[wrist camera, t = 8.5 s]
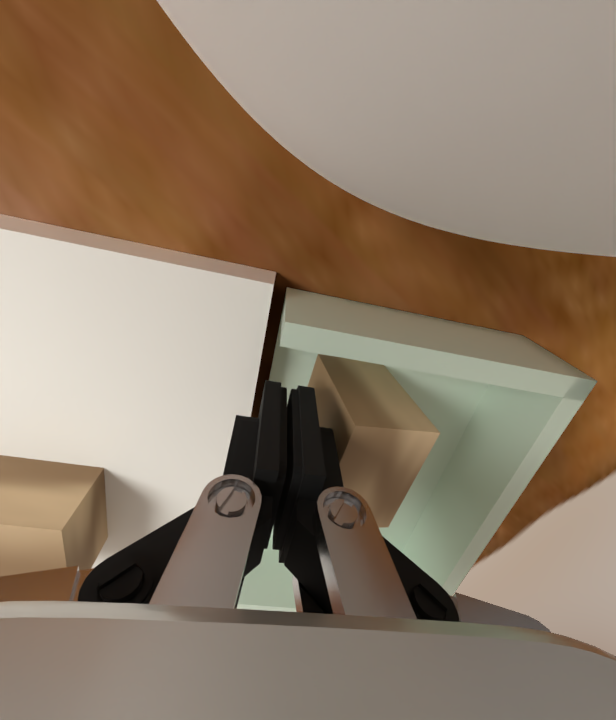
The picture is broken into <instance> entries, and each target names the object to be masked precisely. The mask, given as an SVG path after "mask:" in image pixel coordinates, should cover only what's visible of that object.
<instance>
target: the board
mask: <svg viewBox="0 0 616 720" xmlns="http://www.w3.org/2000/svg"><path fill="white" fill-rule="evenodd" d="M275 277H276V272H274V271H269V270H265V269H260V268H255V267H250V266H246V265H241V264H236V263H231V262H227V261H222V260H217V259H212V258H207V257H203V256H198V255H193V254H188V253H184V252H179V251H174V250H169V249H165V248H160V247H155V246H150V245H145V244H141V243H136V242H131V241H126V240H122V239H117V238H112V237H107V236H103V235H98V234H93V233H88V232H84V231H79V230H74V229H69V228H64V227H60V226H55V225H50V224H45V223H41V222H36V221H31V220H26V219H22V218H17V217H12V216H7V215H3V214H0V455H4V456H13V457H21V458H29V459H37V460H45V461H53V462H61V463H69V464H77V465H85V466H93V467H101V468H104V475H105V493H106V510H107V528H108V538H107V540H106V542H105V544H104V545H103V547H102V549H101V551H100V553H99V555H98V557H97V559H96V560H95V562H94V564H93V566H92V568H95V567H96V566H97V565H99V564H100V563H101V562H103V561H104V560H105V559H107V558H108V557H110V556H112V555H114V554H115V553H117V552H119V551H120V550H122V549H124V548H126V547H127V546H129V545H131V544H132V543H134V542H136V541H137V540H139V539H141V538H143V537H144V536H146V535H148V534H149V533H151V532H153V531H155V530H156V529H158V528H160V527H161V526H163V525H165V524H166V523H168V522H170V521H172V520H173V519H175V518H177V517H178V516H180V515H182V514H184V513H185V512H187V511H189V510H190V509H192V508H194V507H195V506H196V504H197V502H198V499H199V497H200V495H201V493H202V491H203V489H204V488H205V487H206V485H207V484H208V483H209V482H211V481H212V480H213V479H215V478H217V477H220V476H222V475H223V472H224V468H225V463H226V459H227V454H228V450H229V445H230V440H231V436H232V431H233V427H234V422H235V418H236V415H240V416H247V417H251V413H252V408H253V402H254V396H255V391H256V385H257V379H258V373H259V368H260V362H261V356H262V351H263V345H264V339H265V334H266V328H267V322H268V317H269V311H270V305H271V299H272V294H273V288H274V282H275ZM92 568H91V569H92Z"/></svg>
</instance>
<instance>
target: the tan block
mask: <svg viewBox="0 0 616 720" xmlns="http://www.w3.org/2000/svg"><path fill="white" fill-rule="evenodd" d="M107 538H108V528H107V510H106V493H105V475H104V468H101V467H93V466H85V465H77V464H69V463H61V462H53V461H45V460H37V459H29V458H21V457H13V456H4V455H0V577H1V576H8V575H15V574H22V573H29V572H36V571H43V570H50V569H57V568H65V567H72V566H79V570H85V569H91V568H92V566H93V564H94V562H95V560H96V559H97V557H98V555H99V553H100V551H101V549H102V547H103V545H104V544H105V542H106V540H107Z"/></svg>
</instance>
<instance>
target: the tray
mask: <svg viewBox="0 0 616 720" xmlns="http://www.w3.org/2000/svg"><path fill="white" fill-rule="evenodd" d="M318 354H322V355H329V356H335V357H342V358H347V359H353V360H358V361H364V362H369V363H375V364H380V365H384V366H385V367H386V368H387V369H388V371H389V372H390V373H391V374H392V375H393V377H394V378H395V379H396V380H397V381H398V383H399V384H400V385H401V386H402V387H403V389H404V390H405V391H406V392H407V393H408V395H409V396H410V397H411V398H412V399H413V401H414V402H415V403H416V404H417V405H418V407H419V408H420V409H421V410H422V412H423V413H424V414H425V415H426V416H427V418H428V419H429V420H430V421H431V422H432V424H433V425H434V426H435V427H436V428H437V430H438V431H439V432H440V435H439V436H438V438H437V440H436V442H435V444H434V445H433V447H432V449H431V451H430V453H429V455H428V456H427V458H426V460H425V462H424V464H423V465H422V467H421V469H420V471H419V473H418V474H417V476H416V478H415V480H414V482H413V483H412V485H411V487H410V489H409V491H408V493H407V494H406V496H405V498H404V500H403V502H402V503H401V505H400V507H399V509H398V511H397V512H396V514H395V516H394V518H393V520H392V521H391V523H390V525H389V527H382V528H379V530H380V532H381V535H382V536H383V537H384V538H385V539H387V540H388V541H389V542H390V543H391V544H392V545H394V546H395V547H396V548H397V549H398V550H400V551H401V552H402V553H403V554H404V555H405V556H407V557H408V558H409V559H410V560H411V561H413V562H414V563H415V564H416V565H417V566H418V567H420V568H421V569H422V570H423V571H424V572H426V573H427V574H428V575H429V576H430V577H431V578H433V579H434V580H435V581H436V582H437V583H439V584H440V585H441V587H442V588H443V589H444V590H445V591H446V592H447V593H448V594H449V595H450V596H453V594H454V593H455V591H456V590H457V588H458V587H459V585H460V584H461V582H462V581H463V579H464V578H465V576H466V575H467V574H468V572H469V571H470V569H471V568H472V566H473V565H474V563H475V562H476V560H477V559H478V557H479V556H480V554H481V553H482V551H483V550H484V548H485V547H486V545H487V544H488V543H489V541H490V540H491V538H492V537H493V535H494V534H495V532H496V531H497V529H498V528H499V526H500V525H501V523H502V522H503V520H504V519H505V517H506V516H507V514H508V513H509V511H510V510H511V508H512V507H513V505H514V504H515V503H516V501H517V500H518V498H519V497H520V495H521V494H522V492H523V491H524V489H525V488H526V486H527V485H528V483H529V482H530V480H531V479H532V477H533V476H534V474H535V473H536V471H537V470H538V468H539V467H540V466H541V464H542V463H543V461H544V460H545V458H546V457H547V455H548V454H549V452H550V451H551V449H552V448H553V446H554V445H555V443H556V442H557V440H558V439H559V437H560V436H561V434H562V433H563V431H564V430H565V429H566V427H567V426H568V424H569V423H570V421H571V420H572V418H573V417H574V415H575V414H576V412H577V411H578V409H579V408H580V406H581V405H582V403H583V402H584V400H585V399H586V397H587V396H588V394H589V393H590V392H591V390H592V389H593V387H594V386H595V384H596V383H597V381H596V380H595V379H593V378H591V377H590V376H588V375H586V374H585V373H583V372H582V371H580V370H578V369H577V368H575V367H573V366H572V365H570V364H569V363H567V362H565V361H564V360H562V359H561V358H559V357H557V356H556V355H554V354H552V353H551V352H549V351H548V350H546V349H544V348H543V347H541V346H539V345H538V344H536V343H535V342H533V341H531V340H530V339H528V338H527V337H525V336H523V335H518V334H513V333H508V332H504V331H499V330H494V329H489V328H484V327H479V326H474V325H469V324H464V323H460V322H455V321H450V320H445V319H440V318H435V317H430V316H425V315H421V314H416V313H411V312H406V311H401V310H396V309H391V308H386V307H381V306H377V305H372V304H367V303H362V302H357V301H352V300H347V299H342V298H337V297H333V296H328V295H323V294H318V293H313V292H308V291H303V290H298V289H294V288H289V287H287V288H286V293H285V298H284V303H283V308H282V314H281V319H280V324H279V329H278V335H277V340H276V345H275V350H274V355H273V361H272V366H271V371H270V376H269V381H274V382H281V387H285V388H287V404H288V400H289V395H290V391H291V389H297V387H298V385H300V386H306V387H308V383H309V380H310V377H311V374H312V371H313V368H314V365H315V361H316V358H317V355H318ZM272 544H273V528H272V532H271V536H270V540H269V544H268V548H267V549H264V551H263V555H262V559H261V563H260V564H259V565H258V566H257V567H256V568H254V569H253V570H252V571H251V572H250V573H249V574H247V575H246V576H245V578H244V582H243V586H242V590H241V594H240V598H239V602H238V606H237V609H250V610H268V611H286V612H296V606H295V599H294V592H293V586H292V577H293V574H292V573H291V572H290V571H289V570H288V569H287V568H286V567H285V566H284V563H279V550H273V547H272Z"/></svg>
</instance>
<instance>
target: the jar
mask: <svg viewBox="0 0 616 720" xmlns="http://www.w3.org/2000/svg"><path fill="white" fill-rule="evenodd" d="M157 2H158V3H159V4H160V6H161V7H162V9H163V10H164V11H165V13H166V14H167V16H168V17H169V18H170V20H171V21H172V22H173V24H174V25H175V27H176V28H177V29H178V31H179V32H180V33H181V35H182V36H183V37H184V39H185V40H186V41H187V42H188V44H189V45H190V46H191V48H192V49H193V50H194V51H195V53H196V54H197V55H198V57H199V58H200V59H201V60H202V62H203V63H204V64H205V65H206V67H207V68H208V69H209V70H210V71H211V73H212V74H213V75H214V76H215V77H216V79H217V80H218V81H219V82H220V83H221V84H222V86H223V87H224V88H225V89H226V90H227V91H228V92H229V94H230V95H231V96H232V97H233V98H234V99H235V100H236V101H237V102H238V103H239V105H240V106H241V107H242V108H243V109H244V110H245V111H246V112H247V113H248V114H249V115H250V116H251V117H252V118H253V119H254V120H255V121H256V122H257V123H258V124H259V125H260V126H261V127H262V128H263V129H264V130H265V131H266V132H267V133H268V134H269V135H271V136H272V137H273V138H274V139H275V140H276V141H277V142H278V143H279V144H281V145H282V146H283V147H284V148H285V149H286V150H288V151H289V152H290V153H291V154H293V155H294V156H295V157H296V158H298V159H299V160H300V161H301V162H303V163H304V164H305V165H307V166H308V167H309V168H311V169H312V170H314V171H315V172H316V173H318V174H319V175H321V176H322V177H324V178H325V179H327V180H328V181H330V182H332V183H333V184H335V185H336V186H338V187H340V188H341V189H343V190H345V191H347V192H348V193H350V194H352V195H354V196H356V197H358V198H360V199H362V200H364V201H366V202H368V203H370V204H372V205H374V206H376V207H378V208H381V209H383V210H385V211H388V212H390V213H392V214H395V215H398V216H400V217H403V218H406V219H408V220H411V221H414V222H417V223H420V224H423V225H426V226H430V227H433V228H436V229H440V230H443V231H447V232H451V233H455V234H459V235H463V236H467V237H472V238H477V239H481V240H486V241H492V242H497V243H503V244H509V245H515V246H521V247H528V248H535V249H543V250H551V251H559V252H568V253H578V254H588V255H599V256H611V257H616V0H157Z"/></svg>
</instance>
